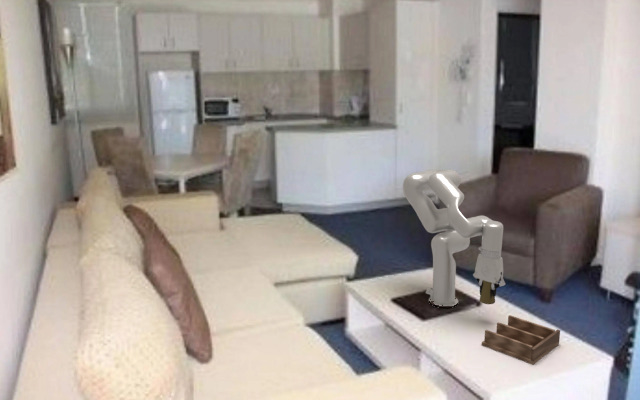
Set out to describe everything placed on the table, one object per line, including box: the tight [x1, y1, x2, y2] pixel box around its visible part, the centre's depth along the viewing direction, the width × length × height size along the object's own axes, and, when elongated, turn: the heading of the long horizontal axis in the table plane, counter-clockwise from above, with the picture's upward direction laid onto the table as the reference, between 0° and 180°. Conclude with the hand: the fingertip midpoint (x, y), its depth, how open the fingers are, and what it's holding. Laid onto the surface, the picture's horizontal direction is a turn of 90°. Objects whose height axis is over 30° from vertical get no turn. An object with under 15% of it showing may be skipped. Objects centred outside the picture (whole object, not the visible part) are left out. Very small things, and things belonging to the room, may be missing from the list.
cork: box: [479, 280, 496, 305], centre depth 226 cm, size 6×6×11 cm
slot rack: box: [481, 315, 561, 365], centre depth 210 cm, size 20×20×6 cm
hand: (487, 295), depth 227 cm, fingers closed on cork, 3 cm apart
